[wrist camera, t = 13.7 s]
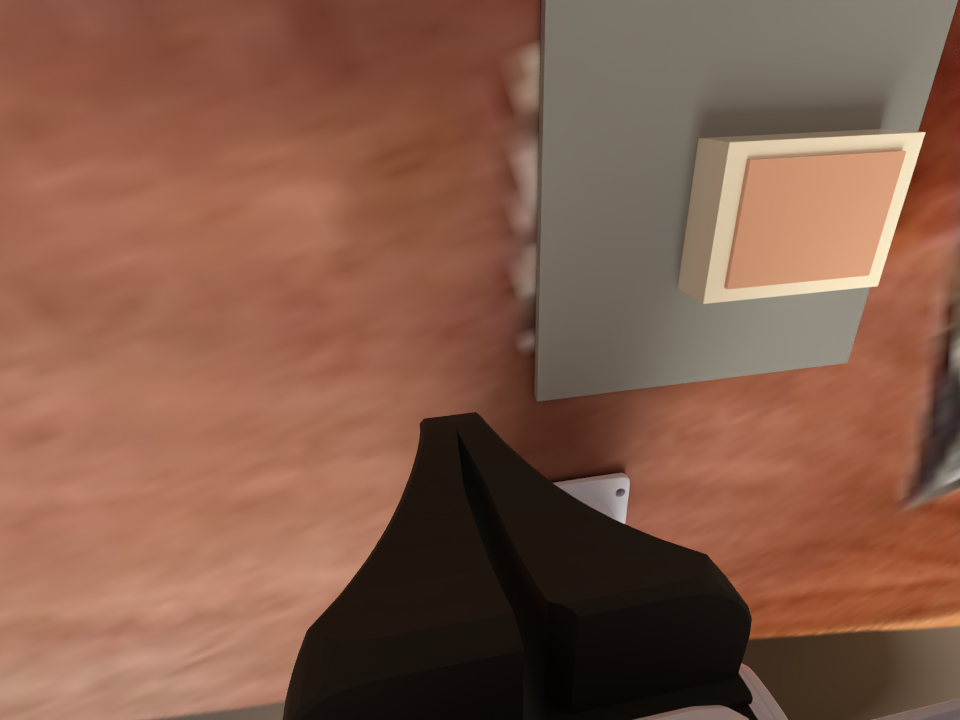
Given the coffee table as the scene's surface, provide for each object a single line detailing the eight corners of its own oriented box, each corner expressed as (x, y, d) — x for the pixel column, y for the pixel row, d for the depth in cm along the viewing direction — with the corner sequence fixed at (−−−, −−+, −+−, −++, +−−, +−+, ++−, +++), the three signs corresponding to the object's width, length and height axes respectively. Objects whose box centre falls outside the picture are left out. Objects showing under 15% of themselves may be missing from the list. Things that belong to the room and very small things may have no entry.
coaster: (677, 288, 23) (840, 272, 25) (706, 305, 21) (881, 287, 23) (698, 138, 21) (880, 128, 22) (733, 142, 19) (930, 132, 20)
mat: (839, 358, 28) (847, 362, 27) (534, 396, 25) (537, 401, 25) (952, -24, 20) (965, -26, 20) (541, -24, 18) (546, -27, 17)
